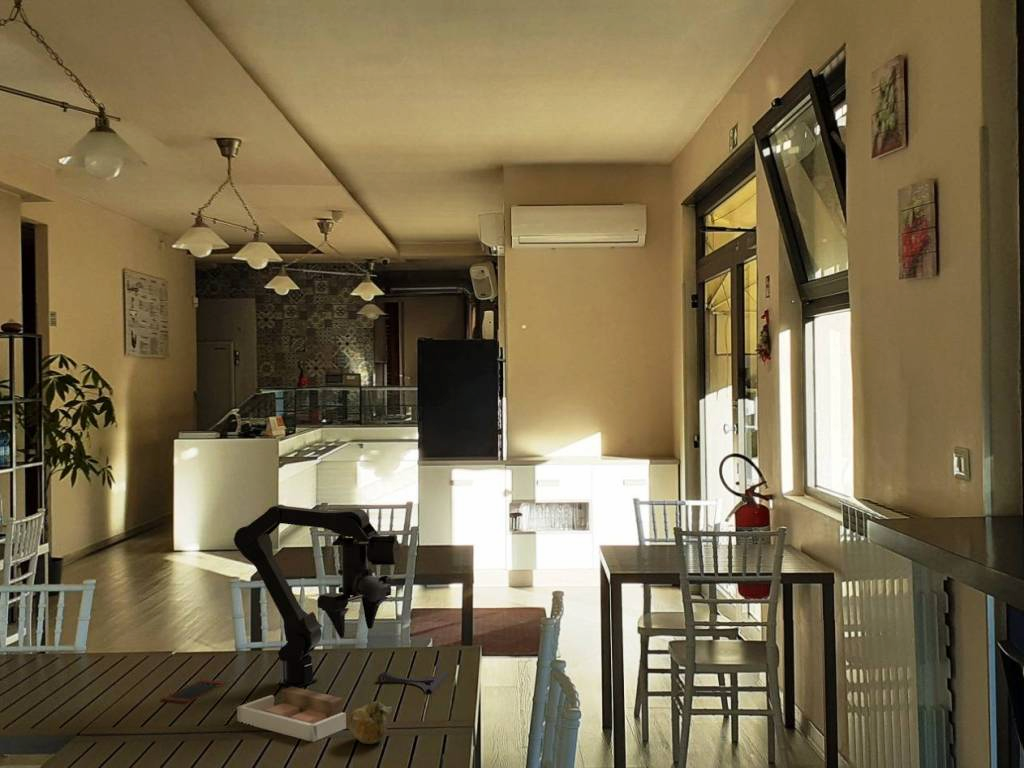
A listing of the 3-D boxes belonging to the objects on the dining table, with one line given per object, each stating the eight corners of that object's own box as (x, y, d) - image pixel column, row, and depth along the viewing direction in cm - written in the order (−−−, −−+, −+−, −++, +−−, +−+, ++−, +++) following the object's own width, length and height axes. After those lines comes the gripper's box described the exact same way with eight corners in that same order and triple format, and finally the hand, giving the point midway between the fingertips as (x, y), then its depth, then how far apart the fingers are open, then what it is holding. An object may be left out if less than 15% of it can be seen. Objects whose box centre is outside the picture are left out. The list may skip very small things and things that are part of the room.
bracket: (387, 675, 240) (387, 663, 240) (448, 677, 237) (448, 665, 237) (368, 694, 226) (368, 682, 226) (432, 696, 223) (432, 684, 223)
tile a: (264, 721, 208) (264, 709, 208) (283, 714, 212) (283, 703, 212) (280, 726, 205) (280, 714, 205) (299, 719, 209) (299, 707, 209)
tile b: (291, 728, 203) (290, 716, 203) (309, 721, 207) (309, 709, 207) (308, 733, 200) (308, 720, 200) (326, 726, 204) (326, 713, 204)
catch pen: (237, 721, 207) (237, 707, 207) (271, 709, 215) (270, 695, 215) (313, 741, 195) (312, 726, 195) (346, 728, 202) (345, 713, 202)
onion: (378, 731, 200) (377, 691, 200) (395, 743, 193) (394, 701, 193) (342, 739, 196) (341, 698, 196) (359, 752, 189) (358, 709, 189)
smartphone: (159, 698, 222) (202, 678, 236) (159, 702, 222) (202, 682, 236) (186, 701, 219) (228, 681, 233) (186, 706, 219) (228, 685, 233)
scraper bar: (281, 713, 212) (281, 690, 212) (292, 709, 215) (292, 686, 215) (332, 726, 204) (331, 702, 204) (342, 722, 206) (342, 698, 206)
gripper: (351, 575, 218) (353, 647, 218) (408, 561, 233) (409, 628, 233) (315, 570, 224) (316, 640, 224) (372, 557, 240) (373, 622, 240)
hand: (355, 632), depth 230 cm, fingers open, 9 cm apart
